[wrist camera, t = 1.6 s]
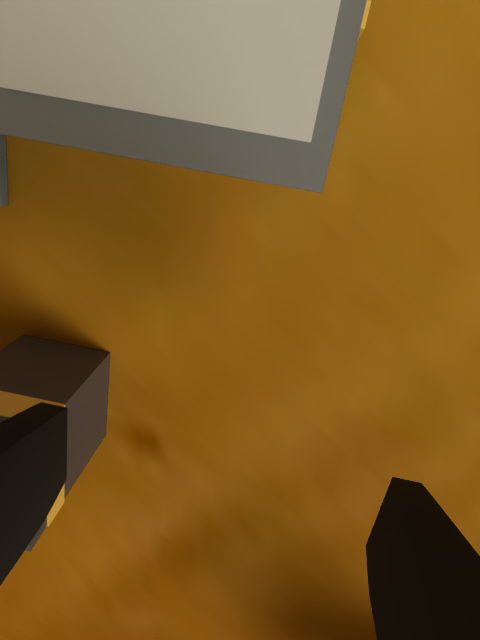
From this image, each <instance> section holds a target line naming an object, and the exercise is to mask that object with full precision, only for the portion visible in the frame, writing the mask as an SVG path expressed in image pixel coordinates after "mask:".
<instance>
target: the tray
mask: <svg viewBox="0 0 480 640" xmlns="http://www.w3.org/2000/svg"><path fill="white" fill-rule="evenodd" d="M5 205H8V183H7V159H6V136H5V135H3V134H0V206H5Z"/></svg>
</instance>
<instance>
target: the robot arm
mask: <svg viewBox="0 0 480 640" xmlns="http://www.w3.org/2000/svg"><path fill="white" fill-rule="evenodd" d="M67 414H68V408H67V407H62V406H58V405H53V404H48V403H44V402H40V403H38V404H36V405H34V406H32V407H30V408H28V409H26V410H24V411H22V412H20V413H18V414H16V415H14V416H12V417H10V418H8V419H6V420H4V421H2V422H1V423H0V585H1V584H2V582H3V581H4V580H5V578H6V577H7V575H8V574H9V572H10V571H11V569H12V568H13V567H14V565H15V564H16V562H17V561H18V559H19V558H20V556H21V555H22V554H23V552H24V551H25V549H26V548H27V546H28V545H29V543H30V542H31V540H32V539H33V537H34V536H35V535H36V533H37V532H38V530H39V529H40V527H41V526H42V524H43V523H44V521H45V519H46V517H47V516H48V514H49V512H50V510H51V508H52V506H53V505H54V503H55V501H56V499H57V497H58V495H59V493H60V491H61V489H62V487H63V485H64V483H65V481H66V479H67ZM366 554H367V571H368V584H369V596H370V601H371V607H372V613H373V618H374V624H375V629H376V635H377V640H480V556H479V555H478V553H477V552H476V551H475V550H474V548H473V547H472V546H471V545H470V543H469V542H468V541H467V540H466V538H465V537H464V536H463V535H462V533H461V532H460V531H459V530H458V528H457V527H456V526H455V525H454V523H453V522H452V521H451V519H450V518H449V517H448V516H447V514H446V513H445V512H444V511H443V509H442V508H441V507H440V505H439V504H438V503H437V502H436V500H435V499H434V498H433V497H432V495H431V494H430V493H429V492H428V491H427V489H426V488H425V487H424V486H423V485H422V483H419V482H414V481H409V480H404V479H400V478H395V477H392V480H391V482H390V485H389V487H388V490H387V492H386V495H385V498H384V500H383V503H382V505H381V508H380V510H379V513H378V516H377V518H376V521H375V523H374V526H373V528H372V531H371V534H370V536H369V539H368V541H367V544H366Z"/></svg>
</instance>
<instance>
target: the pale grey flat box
mask: <svg viewBox="0 0 480 640" xmlns="http://www.w3.org/2000/svg"><path fill="white" fill-rule="evenodd" d="M370 4H371V0H0V134H3V135H8V136H13V137H19V138H24V139H30V140H35V141H41V142H46V143H52V144H57V145H62V146H68V147H73V148H79V149H84V150H90V151H95V152H100V153H106V154H111V155H117V156H122V157H128V158H133V159H138V160H144V161H149V162H155V163H160V164H166V165H171V166H176V167H182V168H187V169H193V170H198V171H204V172H209V173H215V174H220V175H225V176H231V177H236V178H242V179H247V180H253V181H258V182H263V183H269V184H274V185H280V186H285V187H291V188H296V189H301V190H307V191H312V192H318V193H322V192H323V188H324V183H325V179H326V175H327V170H328V166H329V162H330V157H331V153H332V149H333V145H334V140H335V136H336V132H337V127H338V123H339V119H340V114H341V110H342V106H343V101H344V97H345V93H346V88H347V84H348V80H349V75H350V71H351V67H352V62H353V58H354V54H355V49H356V45H357V41H358V39H359V38H360V36H361V34H362V33H363V31H364V29H365V26H366V21H367V17H368V13H369V9H370Z"/></svg>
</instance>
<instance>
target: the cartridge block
mask: <svg viewBox="0 0 480 640" xmlns="http://www.w3.org/2000/svg"><path fill="white" fill-rule="evenodd" d="M109 367H110V353H109V352H105V351H100V350H95V349H90V348H85V347H80V346H75V345H71V344H66V343H61V342H56V341H51V340H46V339H41V338H37V337H32V336H27V335H22V336H21V337H19V338H18V339H17V340H15V341H14V342H12V343H11V344H9V345H8V346H7V347H5V348H4V349H2V350H1V351H0V423H1V422H2V421H4V420H6V419H8V418H10V417H12V416H14V415H16V414H18V413H20V412H22V411H24V410H26V409H28V408H30V407H32V406H34V405H36V404H38V403H40V402H44V403H48V404H53V405H58V406H62V407H67V408H68V414H67V479H66V481H65V483H64V485H63V487H62V489H61V491H60V493H59V495H58V497H57V499H56V501H55V503H54V505H53V506H52V508H51V510H50V512H49V514H48V516H47V517H46V519H45V521H44V523H43V524H42V526H41V527H40V529H39V530H38V532H37V533H36V535H35V536H34V537H33V539H32V540H31V542H30V543H29V545H28V546H27V548H26V549H25V550H26V551H31V550H32V548H33V547H34V545H35V544H36V542H37V540H38V539H39V537H40V536H41V534H42V533H43V531H44V530H45V528H46V527H49V525H50V524H51V522H52V521H53V519H54V517H55V516H56V514H57V513H58V511H59V510H60V508H61V507H62V505H63V503H64V499H65V497H66V496H67V494H68V493H69V491H70V490H71V488H72V486H73V485H74V483H75V482H76V480H77V479H78V477H79V476H80V474H81V473H82V471H83V469H84V468H85V466H86V465H87V463H88V462H89V460H90V459H91V457H92V456H93V454H94V453H95V451H96V449H97V448H98V446H99V445H100V443H101V442H102V440H103V439H104V437H105V436H106V423H107V404H108V386H109Z"/></svg>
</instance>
